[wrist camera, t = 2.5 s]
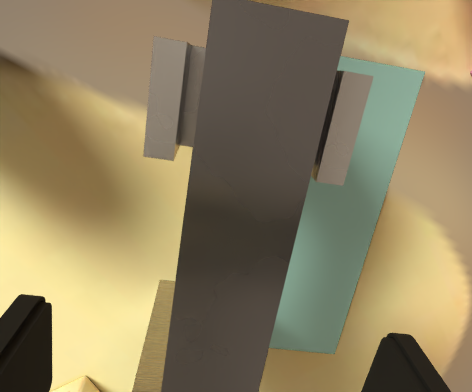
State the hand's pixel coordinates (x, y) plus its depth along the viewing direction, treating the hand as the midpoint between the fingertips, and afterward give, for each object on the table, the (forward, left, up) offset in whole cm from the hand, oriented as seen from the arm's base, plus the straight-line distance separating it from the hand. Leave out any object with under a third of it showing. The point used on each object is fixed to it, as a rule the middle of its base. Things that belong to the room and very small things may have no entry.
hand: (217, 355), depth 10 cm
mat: (0, -7, -13) cm, 14 cm away
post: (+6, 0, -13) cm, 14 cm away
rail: (0, 0, -4) cm, 4 cm away
